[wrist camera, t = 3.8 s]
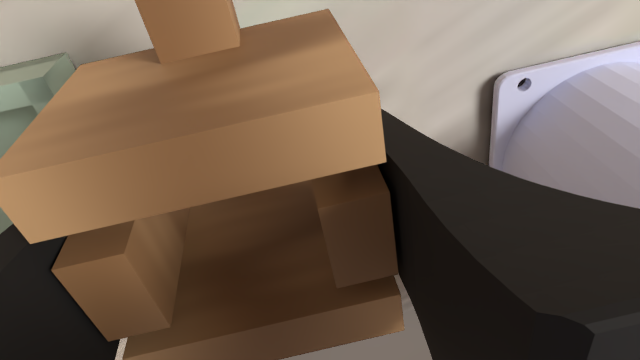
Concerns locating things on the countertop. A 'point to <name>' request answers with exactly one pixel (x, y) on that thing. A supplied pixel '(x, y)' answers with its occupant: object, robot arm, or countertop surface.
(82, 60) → the countertop surface
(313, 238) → the wooden blocks
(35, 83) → the tray
